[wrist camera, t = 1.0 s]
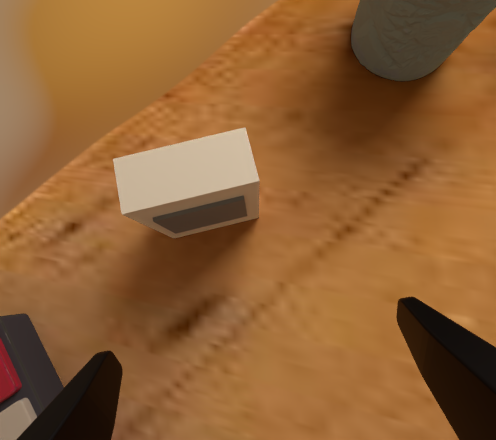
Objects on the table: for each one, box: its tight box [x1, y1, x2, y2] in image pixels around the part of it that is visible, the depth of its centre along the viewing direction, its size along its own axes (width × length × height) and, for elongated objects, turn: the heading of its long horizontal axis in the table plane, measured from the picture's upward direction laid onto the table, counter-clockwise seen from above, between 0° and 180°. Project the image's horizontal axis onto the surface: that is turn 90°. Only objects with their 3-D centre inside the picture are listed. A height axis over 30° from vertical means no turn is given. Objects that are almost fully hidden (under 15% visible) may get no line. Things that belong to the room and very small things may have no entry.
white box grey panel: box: [113, 128, 259, 239], centre depth 19 cm, size 3×7×9 cm, turn 104°
